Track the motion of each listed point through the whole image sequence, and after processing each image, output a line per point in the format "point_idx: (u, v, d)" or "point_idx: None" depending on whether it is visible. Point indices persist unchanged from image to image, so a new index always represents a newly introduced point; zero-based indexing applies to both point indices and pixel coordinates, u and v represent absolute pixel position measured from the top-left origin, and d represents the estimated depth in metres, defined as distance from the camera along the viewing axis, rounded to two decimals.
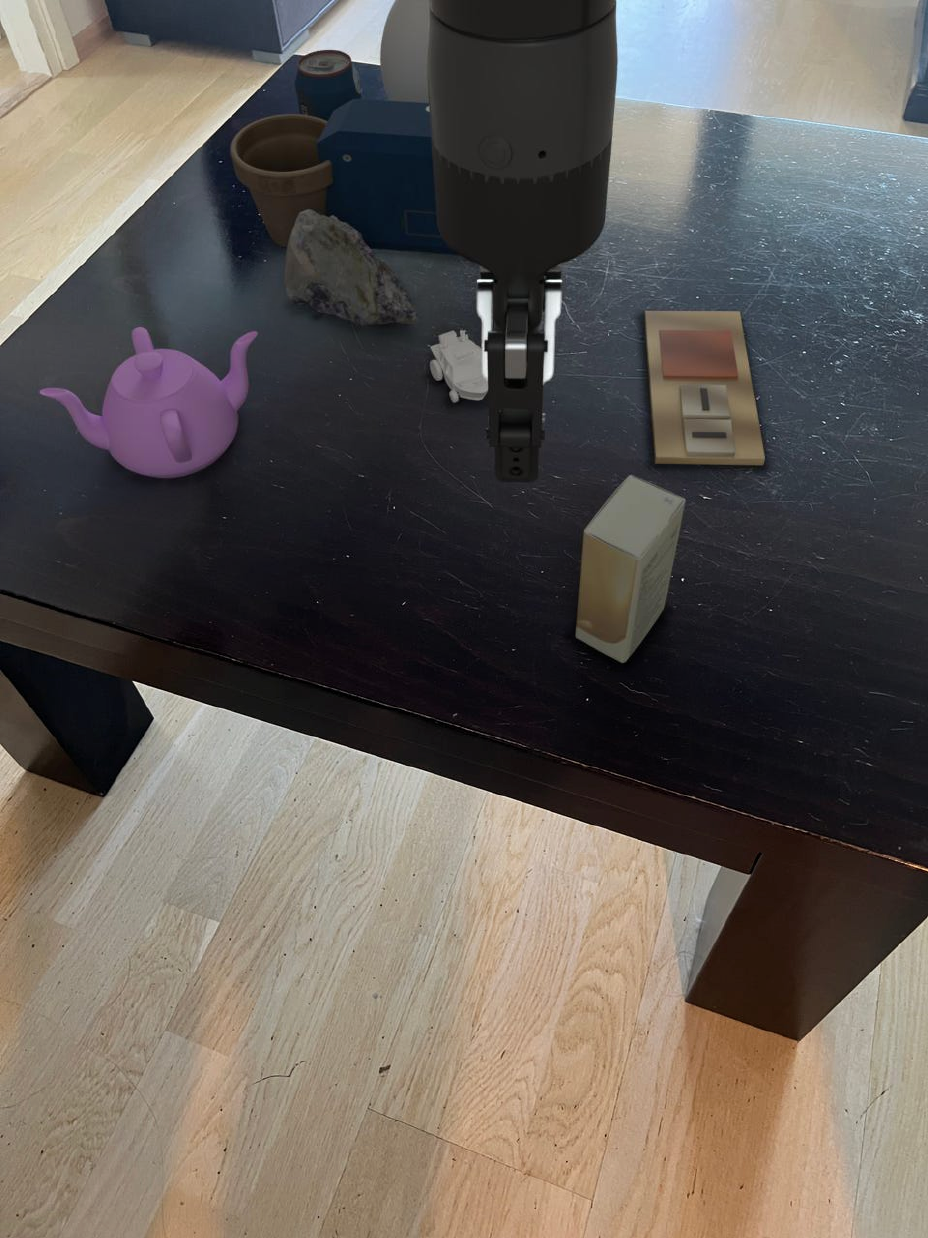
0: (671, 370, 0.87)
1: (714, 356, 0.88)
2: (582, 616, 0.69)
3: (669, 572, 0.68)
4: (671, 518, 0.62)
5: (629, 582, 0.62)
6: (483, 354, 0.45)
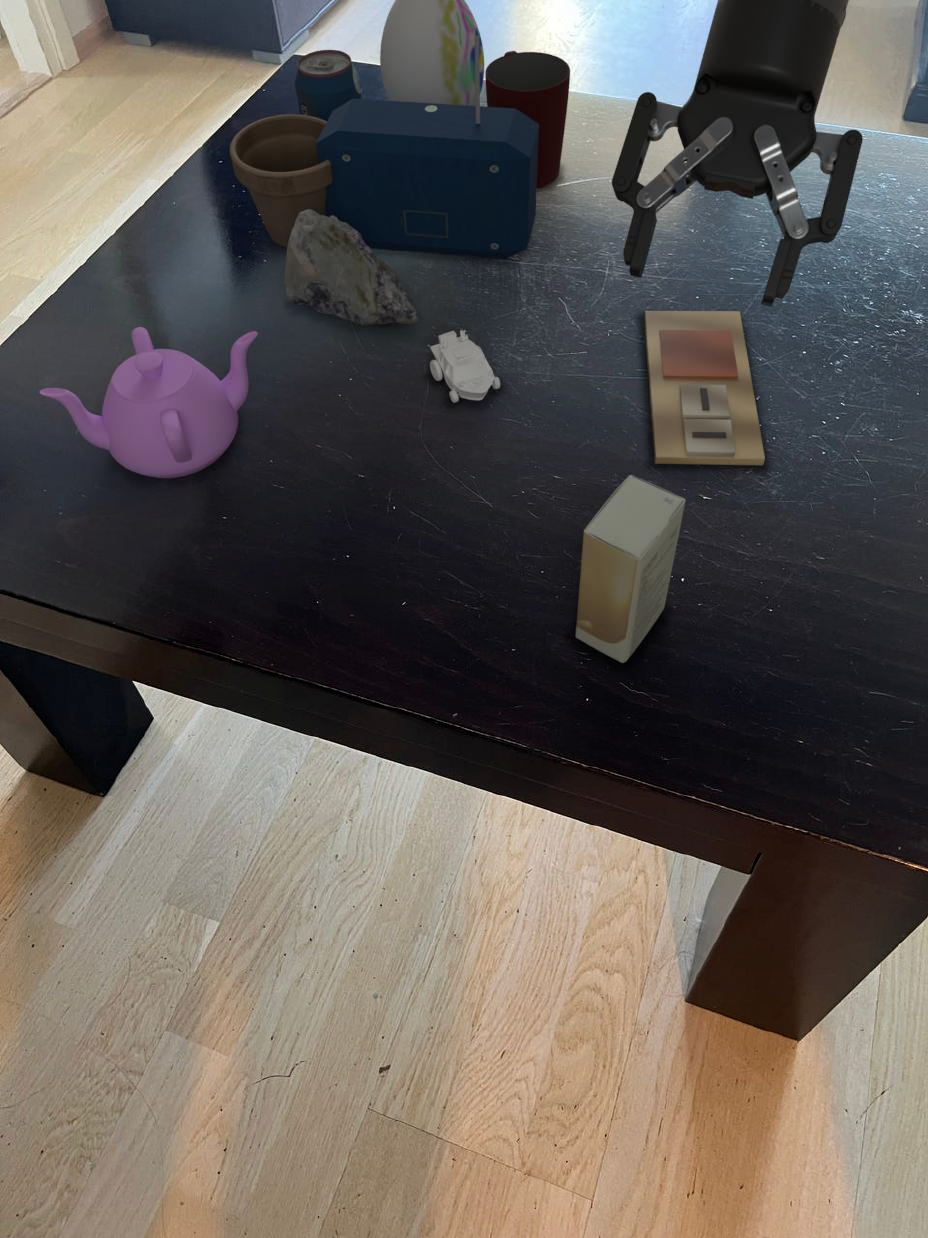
0: (671, 370, 0.87)
1: (714, 356, 0.88)
2: (582, 616, 0.69)
3: (669, 572, 0.68)
4: (671, 518, 0.62)
5: (629, 582, 0.62)
6: None
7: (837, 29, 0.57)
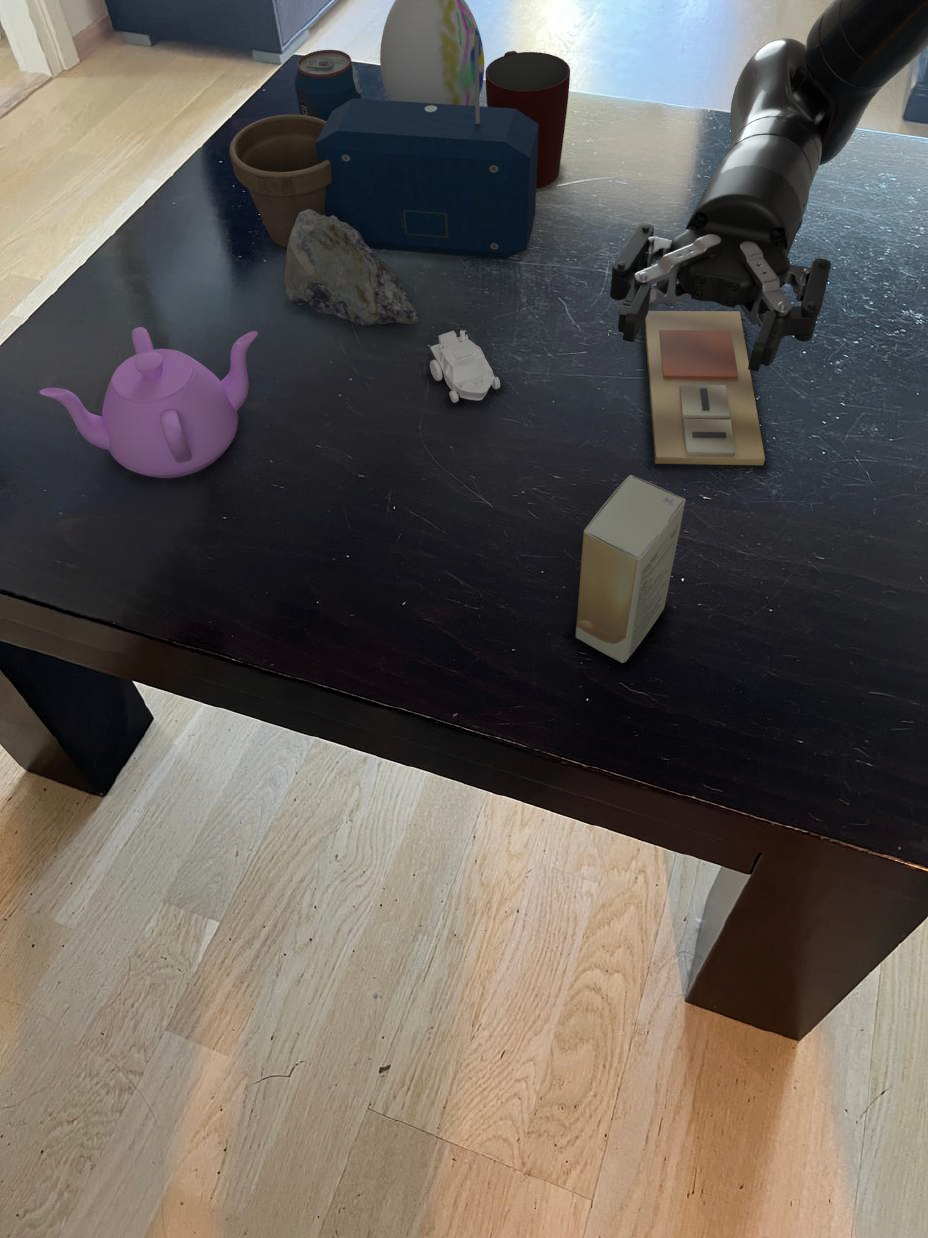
0: (671, 370, 0.87)
1: (714, 356, 0.88)
2: (582, 616, 0.69)
3: (669, 572, 0.68)
4: (671, 518, 0.62)
5: (629, 582, 0.62)
6: None
7: (800, 212, 0.70)
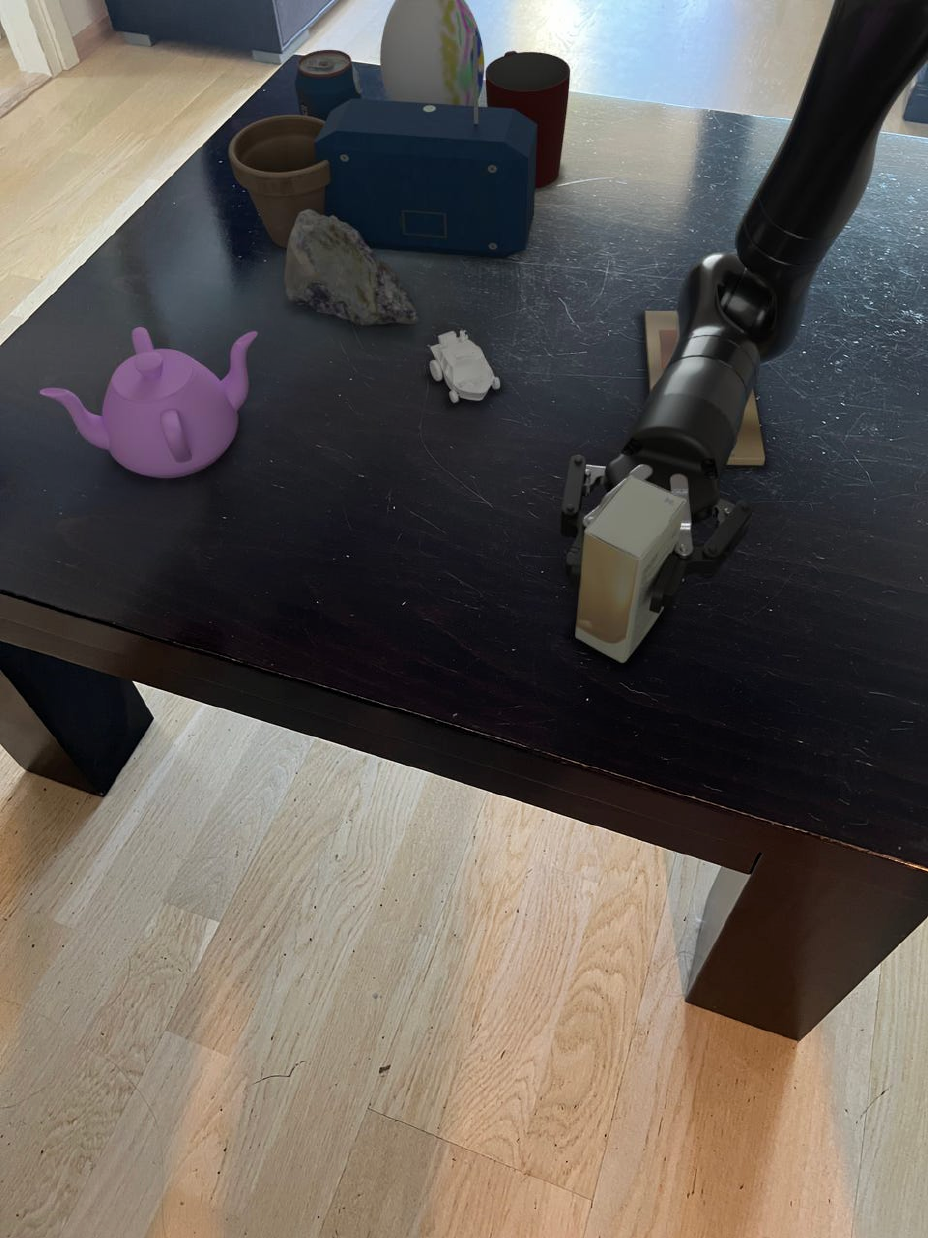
0: None
1: None
2: (582, 616, 0.69)
3: None
4: (672, 518, 0.62)
5: (630, 582, 0.62)
6: None
7: (733, 437, 0.72)
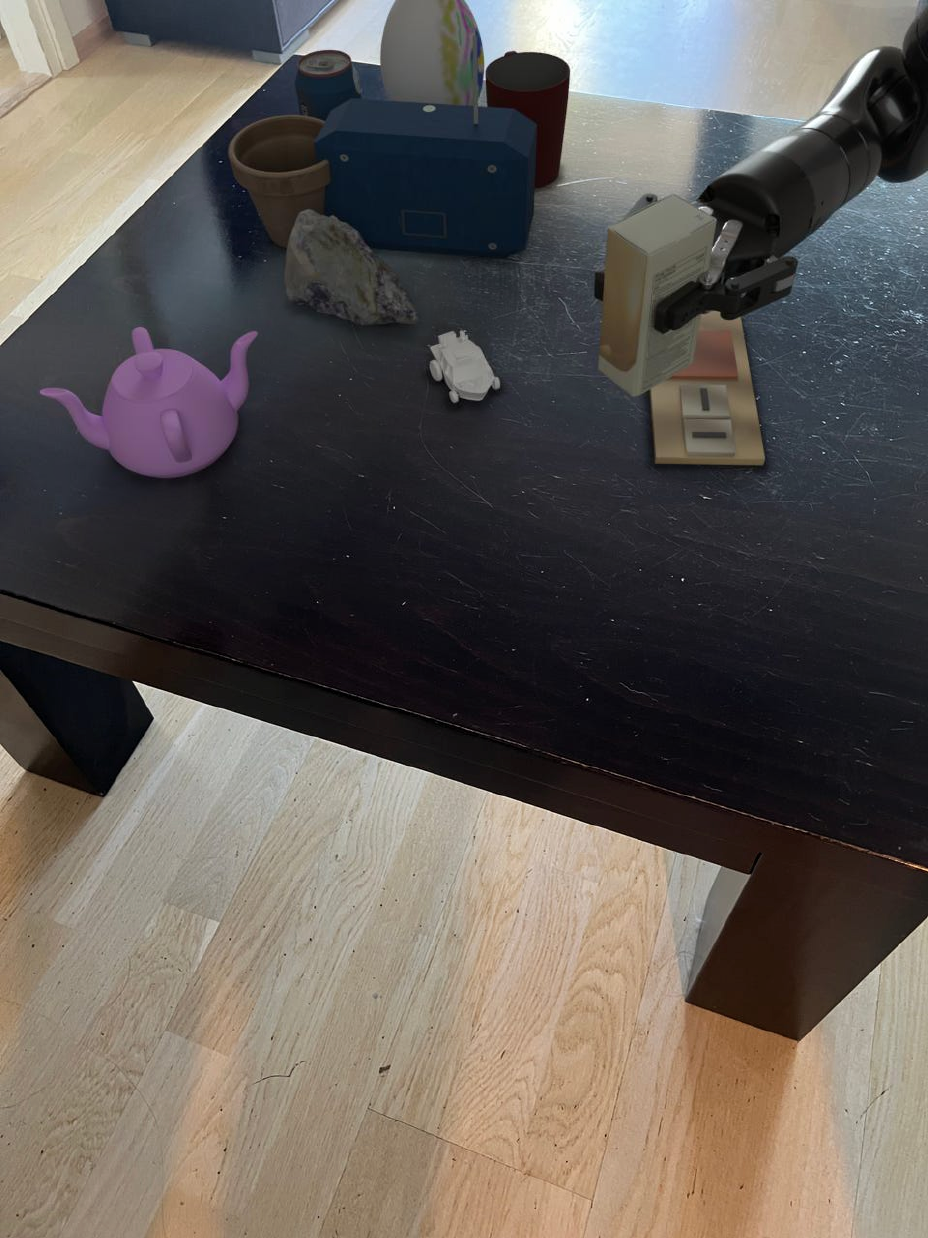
0: None
1: (714, 356, 0.88)
2: (603, 339, 0.71)
3: None
4: (695, 231, 0.63)
5: (640, 286, 0.64)
6: None
7: (813, 208, 0.71)
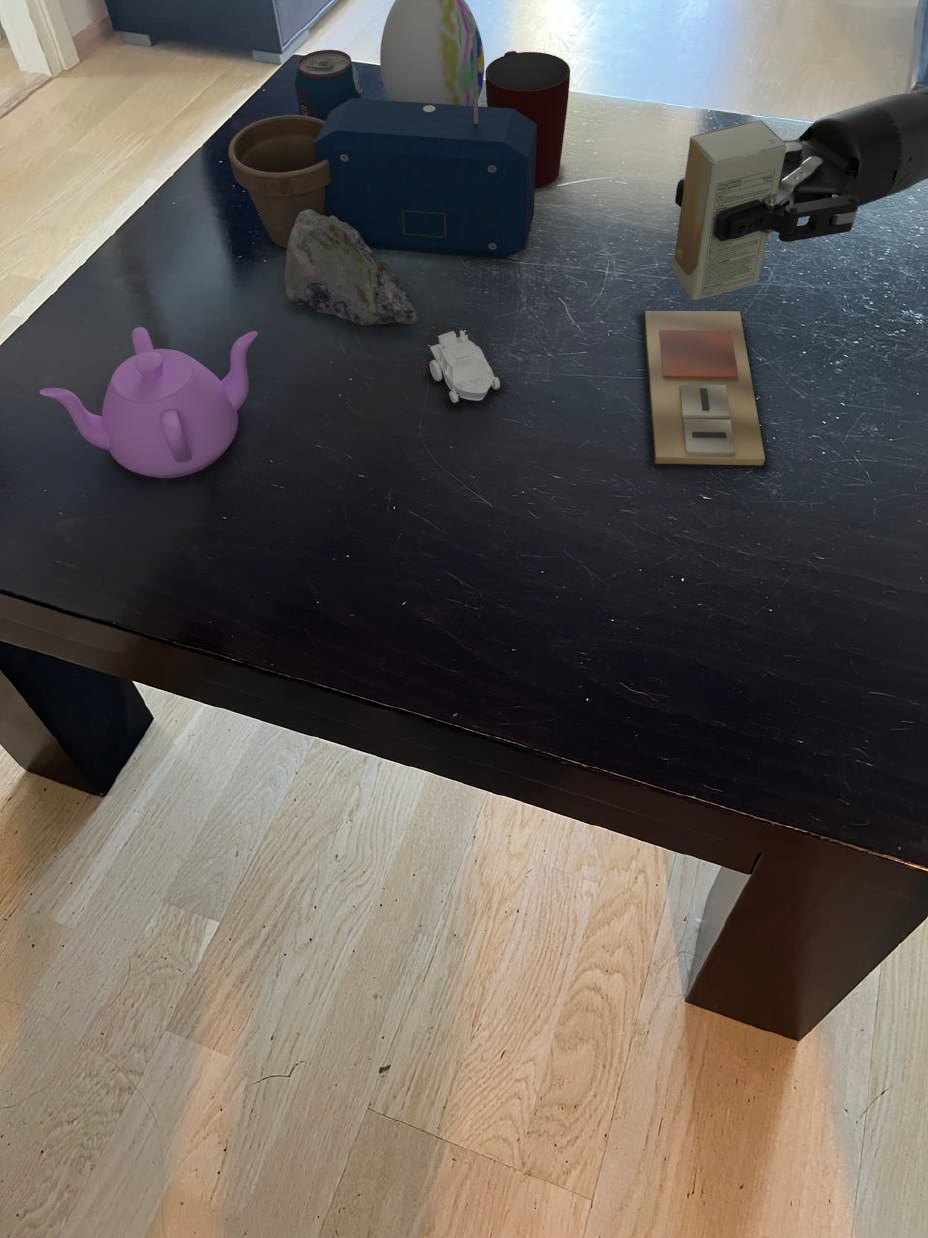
0: (671, 370, 0.87)
1: (714, 356, 0.88)
2: (678, 244, 0.81)
3: (763, 233, 0.78)
4: (764, 151, 0.72)
5: (705, 192, 0.74)
6: None
7: (898, 161, 0.77)
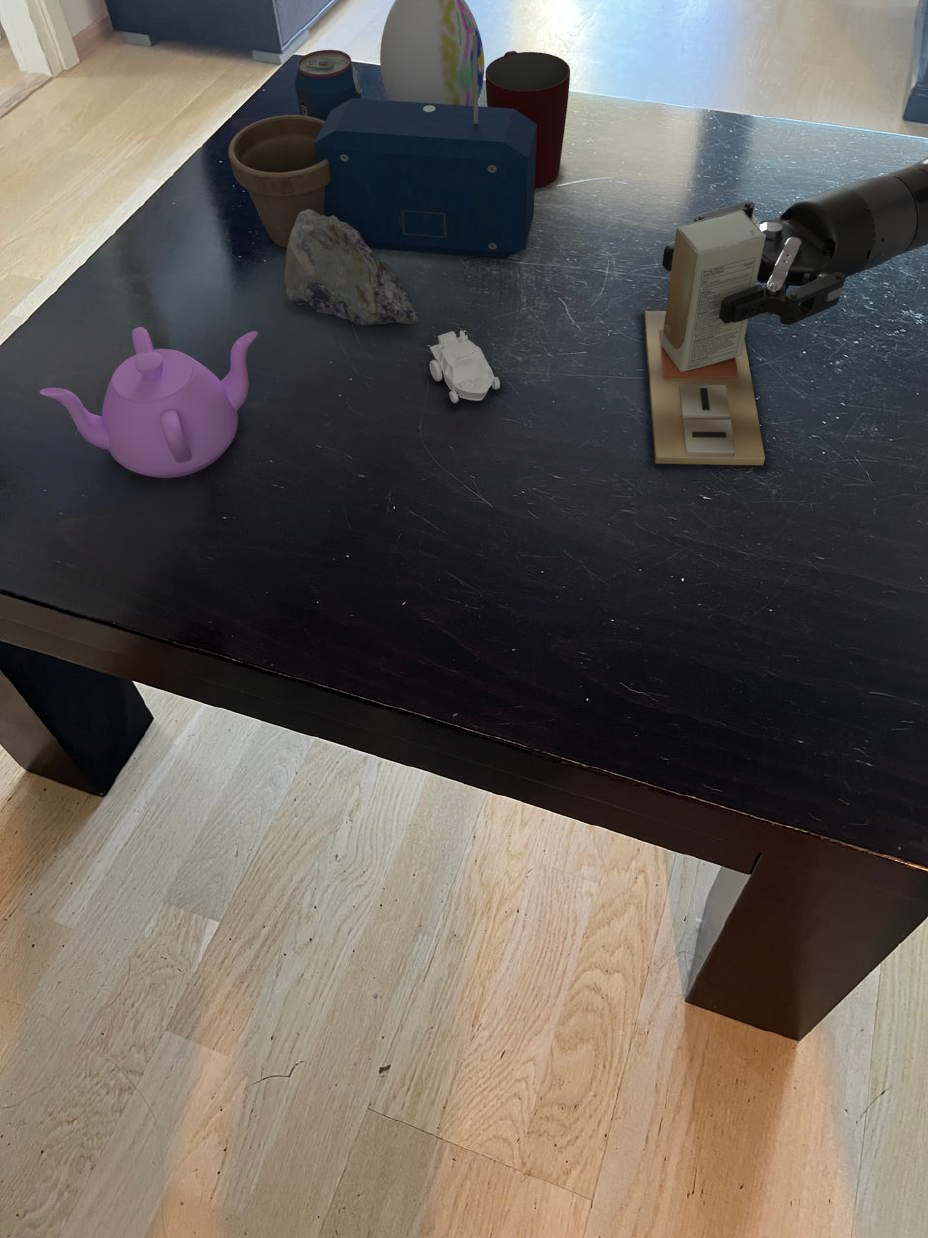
0: (671, 370, 0.87)
1: None
2: (666, 320, 0.87)
3: None
4: (744, 242, 0.78)
5: (691, 278, 0.80)
6: None
7: (871, 242, 0.83)
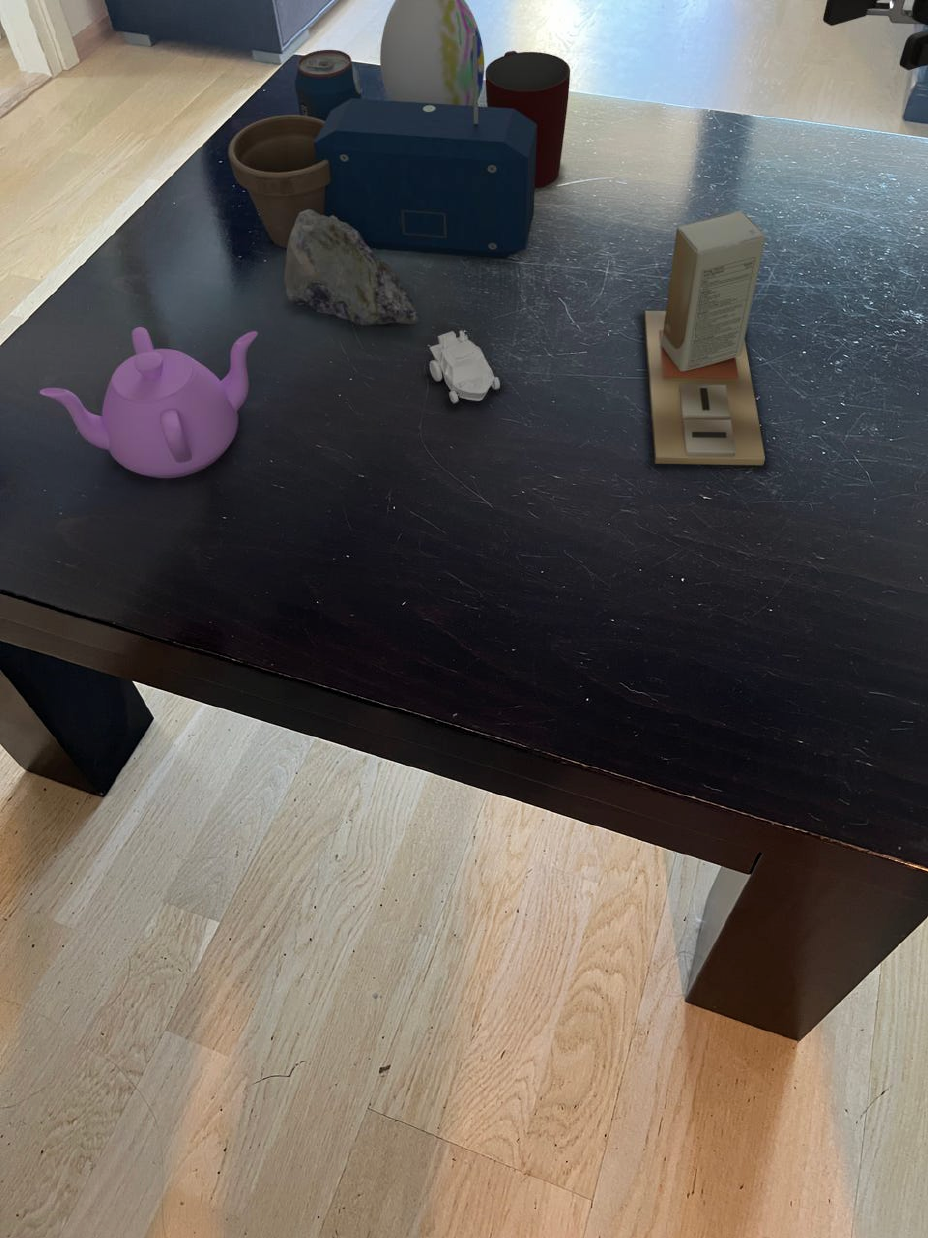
0: (671, 370, 0.87)
1: None
2: (666, 320, 0.87)
3: (745, 312, 0.84)
4: (744, 242, 0.78)
5: (691, 278, 0.80)
6: None
7: None
